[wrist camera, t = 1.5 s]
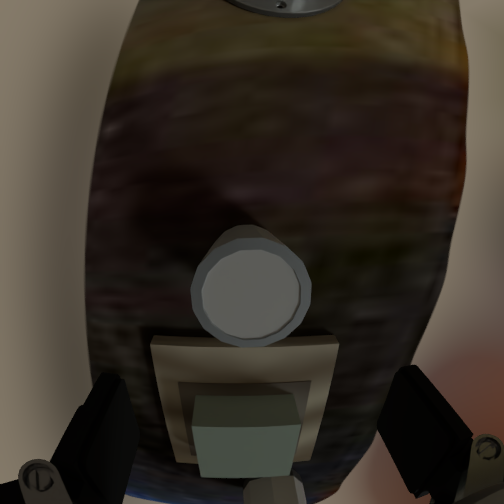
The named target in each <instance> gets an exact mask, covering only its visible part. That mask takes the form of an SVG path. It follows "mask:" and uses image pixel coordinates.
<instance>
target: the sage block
mask: <svg viewBox="0 0 504 504" xmlns="http://www.w3.org/2000/svg"><path fill="white" fill-rule="evenodd" d="M300 428H301V421H300V417H299V414H298V410H297V406H296V402H295V398H294V394H285V395H262V396H209V395H196V396H195V404H194V411H193V419H192V432H193V437H194V443H195V449H196V454H197V459H198V464H199V469H200V474H201V477H210V478H257V477H275V476H287V475H290V471H291V467H292V463H293V459H294V454H295V450H296V446H297V441H298V437H299V432H300Z"/></svg>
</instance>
